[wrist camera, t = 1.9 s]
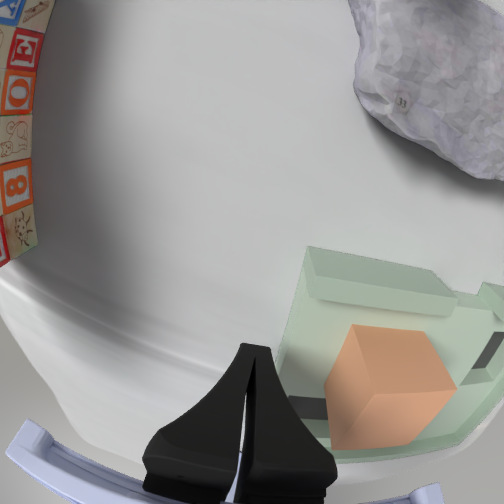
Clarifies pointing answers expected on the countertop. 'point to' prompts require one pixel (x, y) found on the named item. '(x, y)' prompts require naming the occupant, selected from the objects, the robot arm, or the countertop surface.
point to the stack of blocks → (18, 120)
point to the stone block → (435, 77)
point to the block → (384, 388)
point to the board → (398, 317)
